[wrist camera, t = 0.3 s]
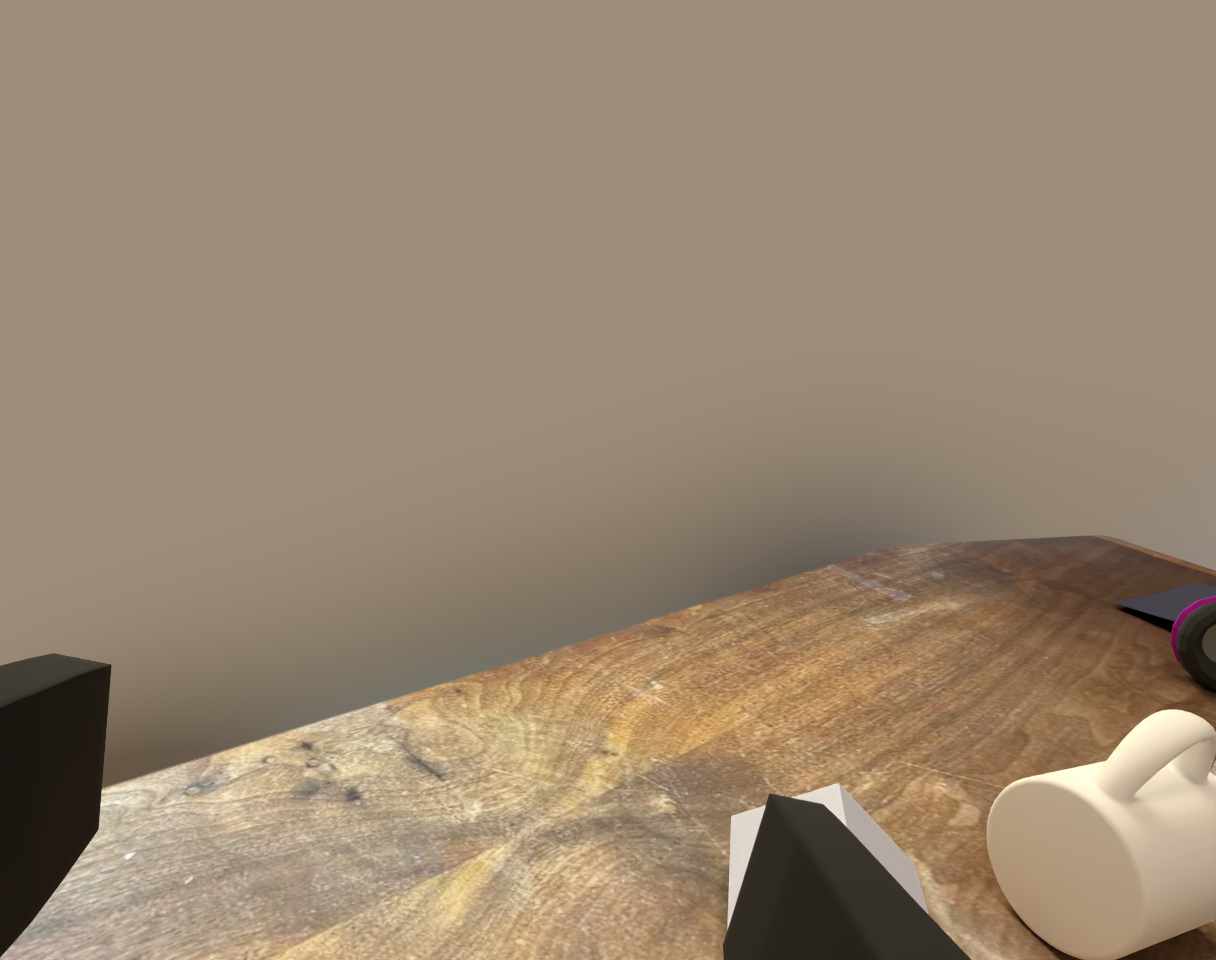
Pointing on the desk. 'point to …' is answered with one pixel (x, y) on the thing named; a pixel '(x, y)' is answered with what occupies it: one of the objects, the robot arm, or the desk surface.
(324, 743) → the desk surface
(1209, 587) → the dark blue flat panel
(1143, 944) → the mug
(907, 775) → the desk surface
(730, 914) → the wedge on round base
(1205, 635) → the headphones
